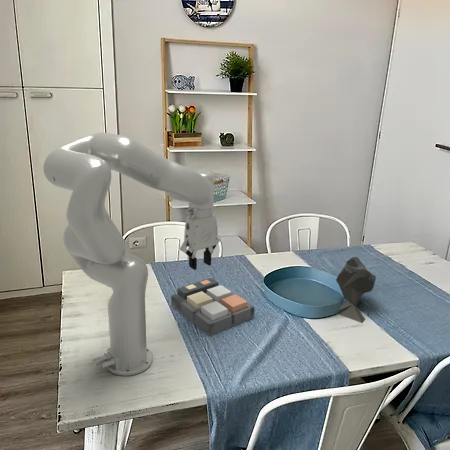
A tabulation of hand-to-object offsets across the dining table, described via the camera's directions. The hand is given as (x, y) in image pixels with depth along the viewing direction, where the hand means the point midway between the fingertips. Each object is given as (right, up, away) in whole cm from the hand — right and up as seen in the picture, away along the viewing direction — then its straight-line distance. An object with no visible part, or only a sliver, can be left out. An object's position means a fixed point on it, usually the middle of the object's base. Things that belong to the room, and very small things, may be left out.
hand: (200, 265), depth 138 cm
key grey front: (+4, -16, -1) cm, 16 cm away
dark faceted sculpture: (+52, -16, +13) cm, 56 cm away
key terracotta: (+11, -14, +4) cm, 18 cm away
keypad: (+3, -16, +7) cm, 18 cm away
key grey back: (+6, -12, +10) cm, 16 cm away
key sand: (0, -14, +5) cm, 14 cm away
